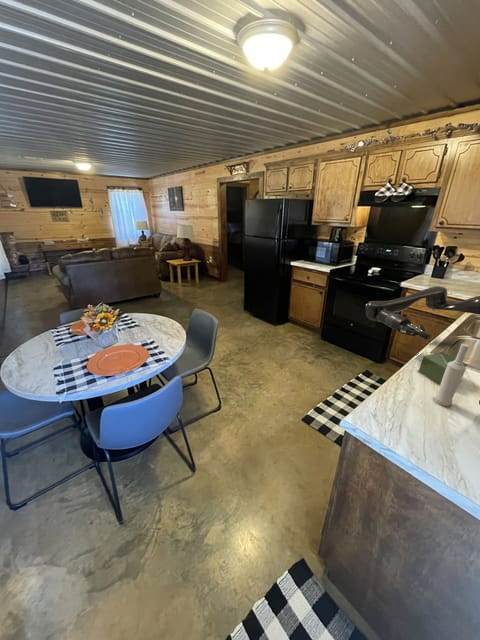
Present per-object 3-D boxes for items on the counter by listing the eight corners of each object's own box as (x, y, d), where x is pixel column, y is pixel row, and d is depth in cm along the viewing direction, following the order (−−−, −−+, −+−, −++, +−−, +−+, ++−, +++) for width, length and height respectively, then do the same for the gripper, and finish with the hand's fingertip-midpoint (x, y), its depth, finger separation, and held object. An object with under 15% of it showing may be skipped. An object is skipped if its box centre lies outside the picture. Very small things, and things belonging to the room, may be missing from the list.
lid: (467, 366, 109) (467, 364, 108) (447, 371, 106) (448, 369, 105) (441, 353, 118) (442, 351, 118) (423, 357, 115) (423, 355, 115)
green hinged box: (459, 380, 112) (465, 365, 109) (440, 385, 109) (445, 370, 106) (436, 367, 121) (441, 353, 118) (418, 371, 118) (423, 357, 115)
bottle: (432, 401, 100) (454, 344, 90) (436, 395, 103) (457, 340, 93) (448, 408, 97) (473, 350, 86) (452, 402, 100) (476, 345, 90)
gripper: (405, 327, 136) (437, 342, 120) (384, 330, 132) (415, 347, 117) (409, 313, 132) (442, 328, 117) (388, 316, 129) (419, 332, 114)
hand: (428, 337), depth 117 cm, fingers closed
